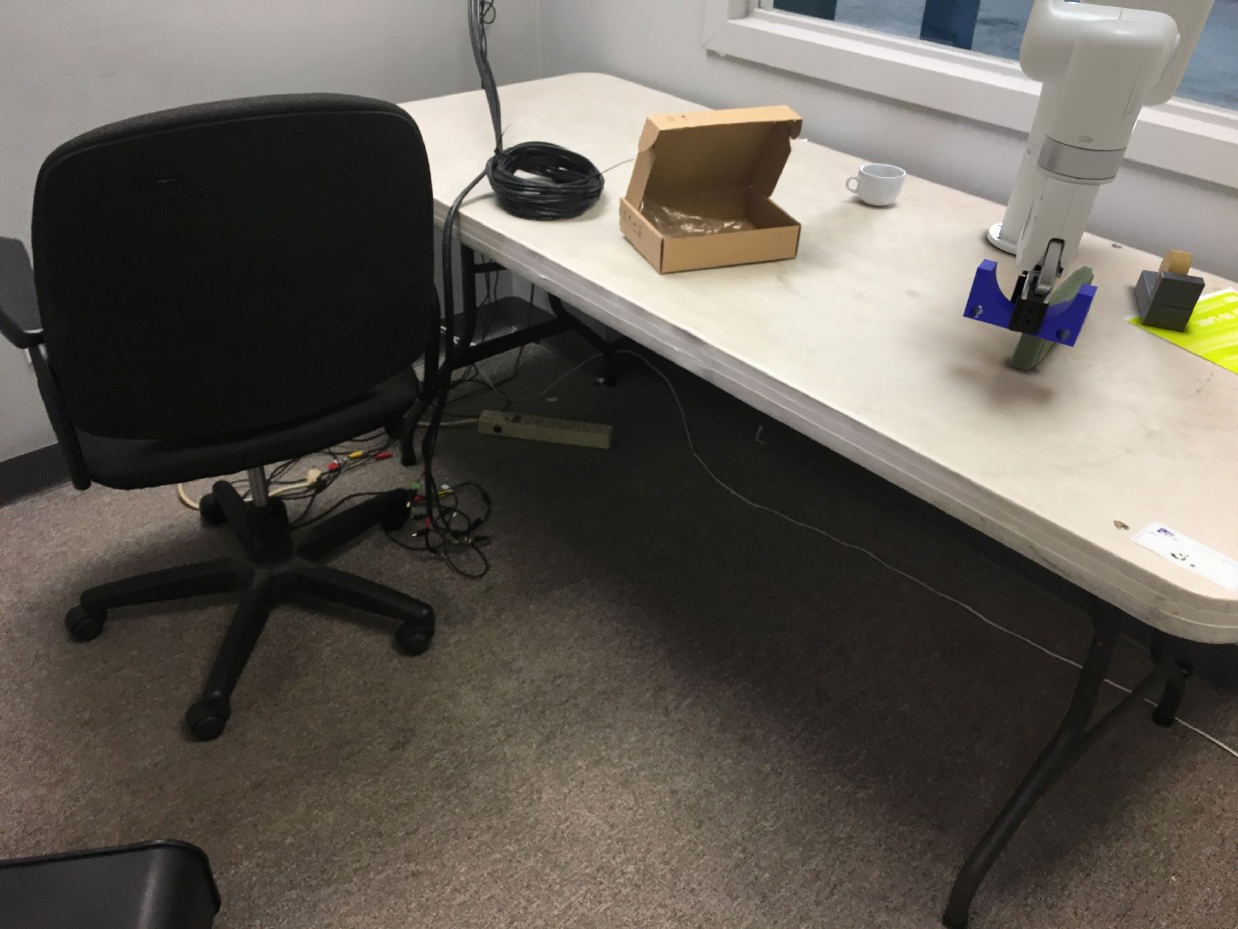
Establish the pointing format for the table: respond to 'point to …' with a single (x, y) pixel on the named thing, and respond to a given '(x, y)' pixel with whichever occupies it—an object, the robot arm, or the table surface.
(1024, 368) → the handheld radio
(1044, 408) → the table surface
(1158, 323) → the tape dispenser
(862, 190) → the teacup
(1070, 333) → the blue semicircular clamp bracket
